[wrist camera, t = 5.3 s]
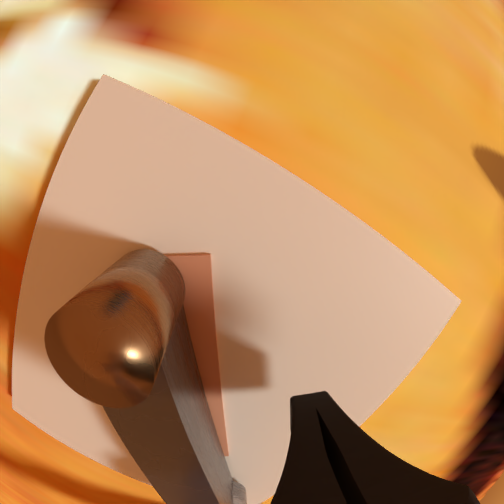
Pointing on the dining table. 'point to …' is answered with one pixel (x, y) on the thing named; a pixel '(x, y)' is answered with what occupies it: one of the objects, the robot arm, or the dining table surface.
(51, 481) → the dining table surface
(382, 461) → the robot arm
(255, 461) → the board
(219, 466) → the lever
